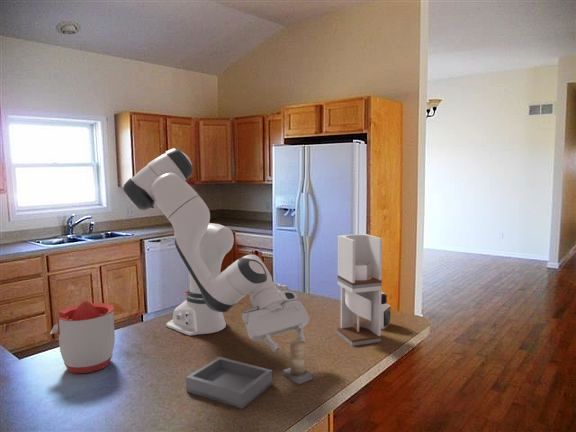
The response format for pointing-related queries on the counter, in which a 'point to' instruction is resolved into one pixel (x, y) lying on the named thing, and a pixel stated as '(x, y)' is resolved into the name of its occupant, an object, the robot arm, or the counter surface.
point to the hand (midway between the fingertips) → (289, 345)
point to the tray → (229, 382)
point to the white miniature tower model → (360, 288)
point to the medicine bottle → (384, 311)
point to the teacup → (281, 286)
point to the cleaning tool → (297, 363)
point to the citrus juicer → (86, 336)
